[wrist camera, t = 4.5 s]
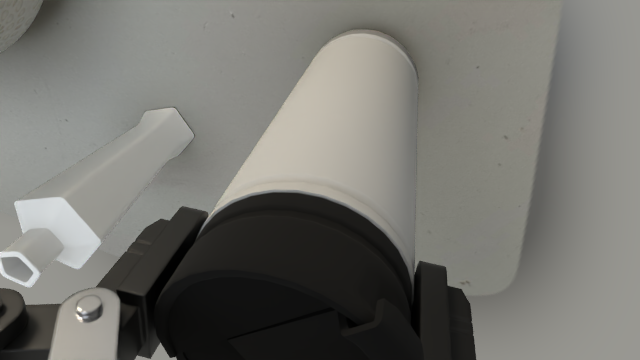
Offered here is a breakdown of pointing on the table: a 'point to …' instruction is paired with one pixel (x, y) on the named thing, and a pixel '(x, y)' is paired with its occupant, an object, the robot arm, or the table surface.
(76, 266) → the perfume bottle
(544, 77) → the table surface
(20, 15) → the planter
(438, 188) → the table surface
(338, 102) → the travel mug
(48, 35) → the table surface
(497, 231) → the table surface
